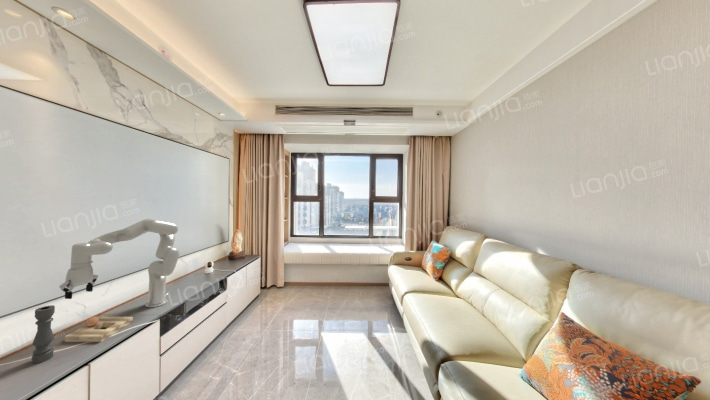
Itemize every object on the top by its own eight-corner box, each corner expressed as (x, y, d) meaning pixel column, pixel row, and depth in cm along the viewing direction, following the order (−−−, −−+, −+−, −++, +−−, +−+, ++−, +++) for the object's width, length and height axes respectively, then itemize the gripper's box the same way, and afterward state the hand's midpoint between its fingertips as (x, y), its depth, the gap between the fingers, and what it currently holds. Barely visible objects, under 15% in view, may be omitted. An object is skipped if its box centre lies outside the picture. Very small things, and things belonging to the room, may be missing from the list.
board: (101, 321, 143) (101, 316, 143) (132, 321, 145) (133, 316, 145) (64, 341, 123) (64, 336, 123) (101, 341, 125) (101, 336, 125)
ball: (92, 323, 136) (92, 315, 136) (101, 323, 136) (101, 315, 136) (82, 328, 131) (83, 319, 131) (92, 328, 131) (93, 319, 131)
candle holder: (42, 363, 108) (45, 311, 108) (26, 364, 107) (29, 311, 107) (57, 354, 114) (59, 305, 114) (42, 354, 113) (44, 305, 113)
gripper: (92, 260, 139) (90, 288, 139) (54, 269, 121) (52, 301, 122) (104, 261, 139) (102, 289, 139) (68, 270, 121) (66, 302, 121)
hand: (79, 294), depth 130 cm, fingers open, 9 cm apart
